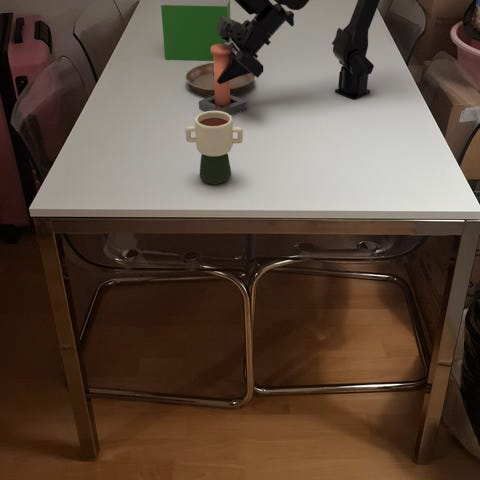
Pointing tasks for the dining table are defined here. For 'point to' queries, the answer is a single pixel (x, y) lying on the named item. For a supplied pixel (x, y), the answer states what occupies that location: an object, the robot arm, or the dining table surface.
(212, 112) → the cream and green cup
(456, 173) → the dining table surface
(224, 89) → the stop pin
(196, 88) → the plant saucer
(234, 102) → the collar
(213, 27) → the hardback book
